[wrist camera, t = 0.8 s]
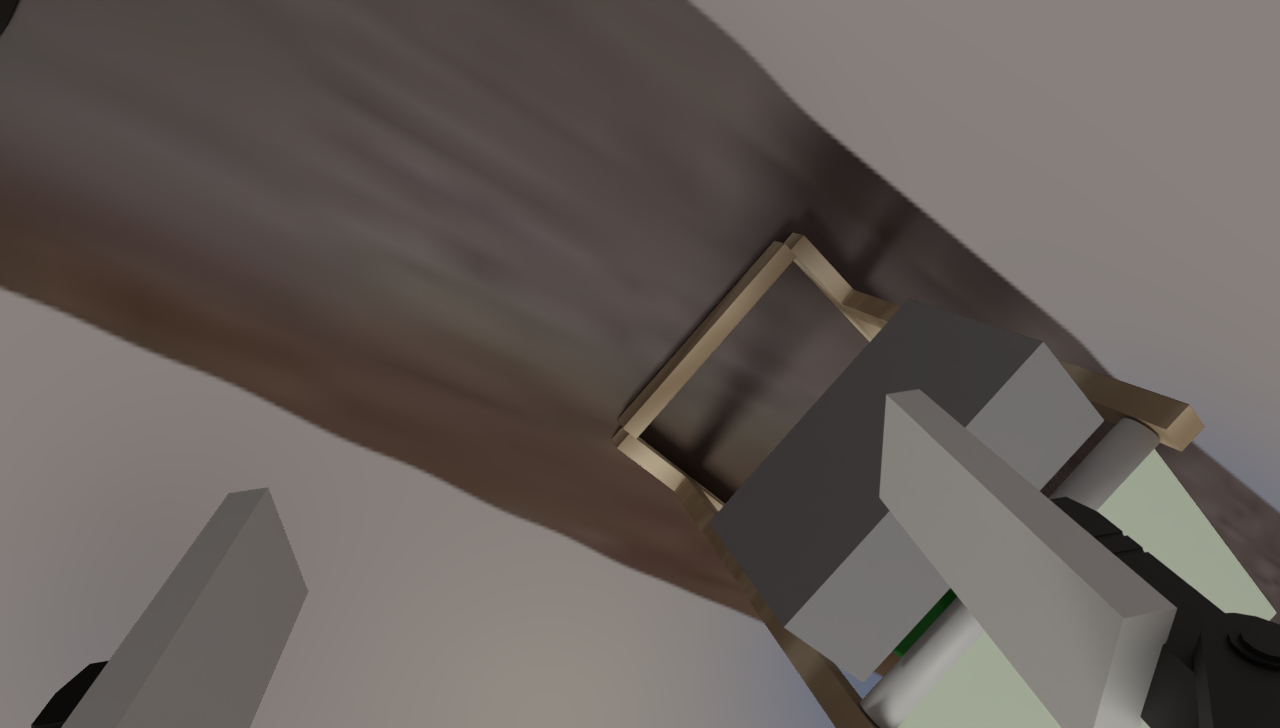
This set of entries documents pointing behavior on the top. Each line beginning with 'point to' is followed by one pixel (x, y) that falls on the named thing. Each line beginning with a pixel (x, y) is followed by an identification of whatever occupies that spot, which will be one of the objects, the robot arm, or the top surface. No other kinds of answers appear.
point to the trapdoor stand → (869, 317)
